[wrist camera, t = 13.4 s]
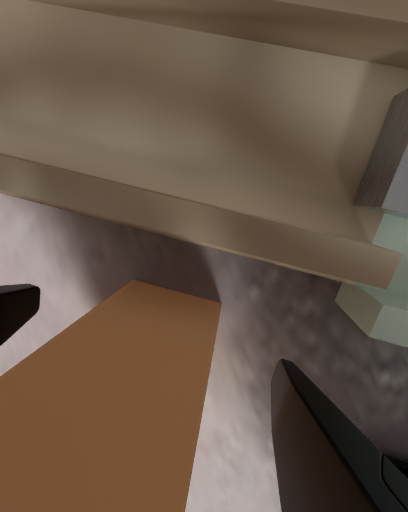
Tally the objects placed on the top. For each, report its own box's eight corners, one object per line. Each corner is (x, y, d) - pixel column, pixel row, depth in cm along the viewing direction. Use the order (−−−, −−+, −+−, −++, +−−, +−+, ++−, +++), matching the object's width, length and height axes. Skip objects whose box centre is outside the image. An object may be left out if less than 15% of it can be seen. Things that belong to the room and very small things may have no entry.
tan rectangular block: (201, 380, 13) (122, 749, 4) (120, 356, 13) (-104, 648, 5) (221, 303, 12) (170, 590, 3) (133, 279, 12) (-134, 474, 3)
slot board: (341, 275, 11) (380, 303, 8) (16, 191, 12) (-56, 188, 9) (437, 37, 8) (541, -50, 5) (23, -33, 10) (-69, -131, 7)
